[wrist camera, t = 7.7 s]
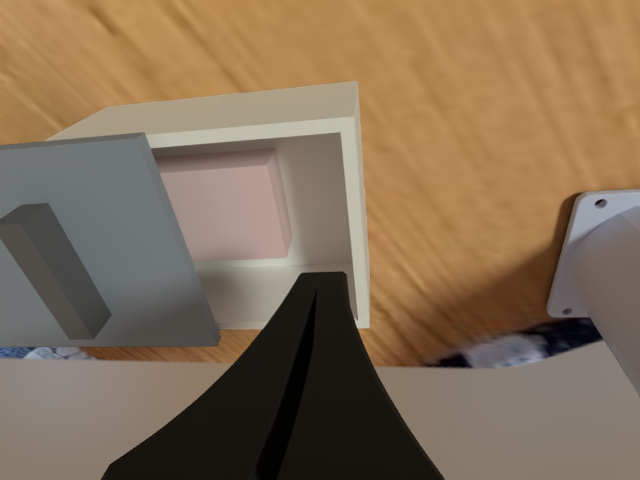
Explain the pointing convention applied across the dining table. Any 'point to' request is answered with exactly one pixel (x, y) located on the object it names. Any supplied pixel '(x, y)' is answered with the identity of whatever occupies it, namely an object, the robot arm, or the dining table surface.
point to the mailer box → (259, 190)
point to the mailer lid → (94, 249)
